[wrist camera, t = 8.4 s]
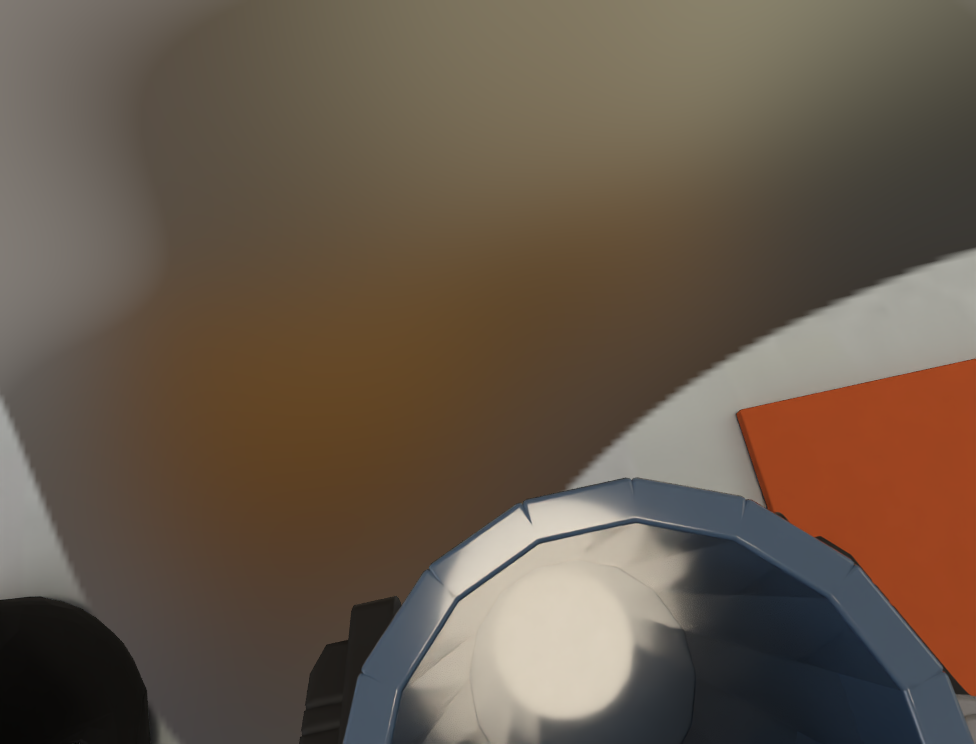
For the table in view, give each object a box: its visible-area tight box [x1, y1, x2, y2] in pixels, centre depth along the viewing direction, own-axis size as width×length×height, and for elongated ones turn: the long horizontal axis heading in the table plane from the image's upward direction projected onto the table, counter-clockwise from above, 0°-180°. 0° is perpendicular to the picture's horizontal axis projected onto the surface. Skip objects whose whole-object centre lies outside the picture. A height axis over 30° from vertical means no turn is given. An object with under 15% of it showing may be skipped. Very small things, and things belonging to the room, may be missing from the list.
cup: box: [343, 478, 974, 744], centre depth 11 cm, size 6×6×10 cm
